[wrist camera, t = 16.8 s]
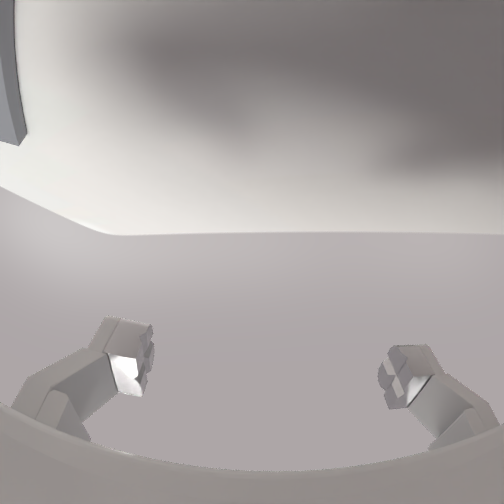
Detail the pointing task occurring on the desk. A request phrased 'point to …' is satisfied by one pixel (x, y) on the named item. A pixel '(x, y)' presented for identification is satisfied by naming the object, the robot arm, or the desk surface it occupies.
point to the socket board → (9, 80)
